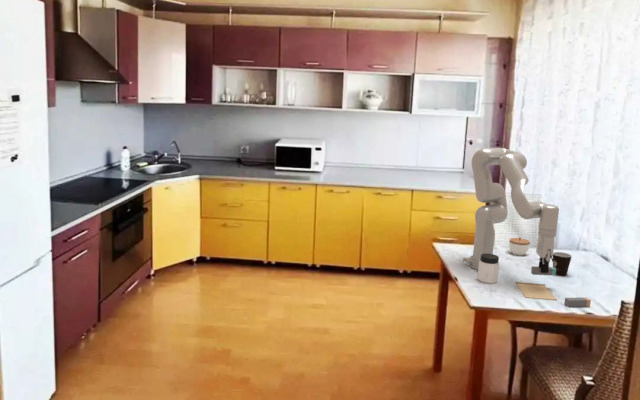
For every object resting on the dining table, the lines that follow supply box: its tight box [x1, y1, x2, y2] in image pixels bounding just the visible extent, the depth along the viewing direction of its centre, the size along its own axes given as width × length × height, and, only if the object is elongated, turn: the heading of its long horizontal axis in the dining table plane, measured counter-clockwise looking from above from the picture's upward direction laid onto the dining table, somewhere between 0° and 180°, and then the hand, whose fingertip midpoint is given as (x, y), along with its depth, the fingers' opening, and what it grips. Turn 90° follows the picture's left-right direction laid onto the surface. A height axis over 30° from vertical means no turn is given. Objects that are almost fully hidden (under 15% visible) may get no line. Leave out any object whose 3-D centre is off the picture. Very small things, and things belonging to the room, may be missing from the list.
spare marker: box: [563, 297, 592, 308], centre depth 241 cm, size 10×3×3 cm, turn 99°
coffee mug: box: [550, 251, 573, 277], centre depth 284 cm, size 12×9×10 cm
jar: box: [476, 253, 500, 284], centre depth 267 cm, size 9×8×12 cm
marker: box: [530, 265, 557, 276], centre depth 260 cm, size 10×3×3 cm, turn 84°
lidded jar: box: [508, 237, 531, 257], centre depth 315 cm, size 11×11×9 cm
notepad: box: [515, 281, 557, 301], centre depth 257 cm, size 13×19×1 cm
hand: (543, 271), depth 260 cm, fingers closed on marker, 2 cm apart
